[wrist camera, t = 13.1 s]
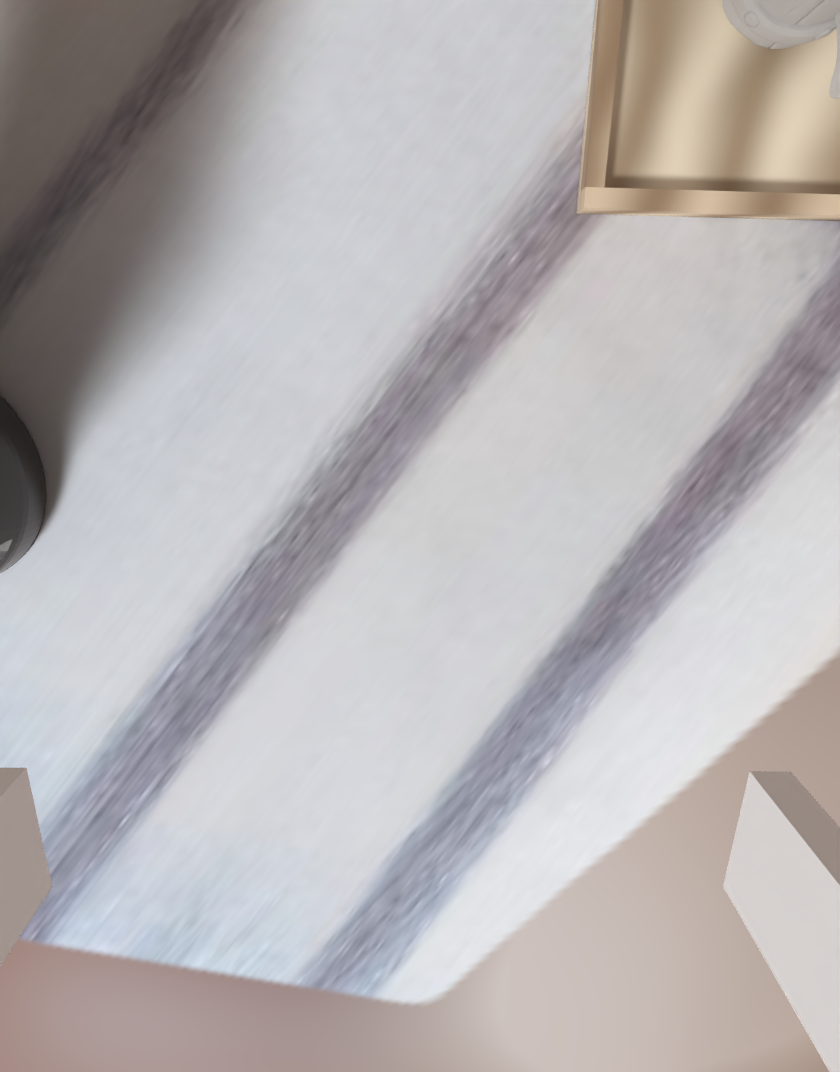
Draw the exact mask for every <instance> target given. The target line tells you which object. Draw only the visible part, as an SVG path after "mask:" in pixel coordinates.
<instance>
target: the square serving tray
mask: <svg viewBox="0 0 840 1072" xmlns="http://www.w3.org/2000/svg"><path fill="white" fill-rule="evenodd" d="M837 45H838V42H837V28H836V29H835V30H833V32H831V33H830V34H829V35H827V36H825V37H823V38H821V39H817V40H814V41H811V42H808V43H804V44H799V45H796V46H793V47H789V48H785V49H770V47H769V48H765V47H762V46H758V45H756V44H754V43H753V42H751V41H750V40H748V39H747V38H746V37H745V36H743V35H742V34H741V33H740V32H739V31H738V30H737V29H736V28H735V27H734V26H733V25H732V24H731V23H730V21H729V19H728V18H727V16H726V14H725V12H724V9H723V0H596V4H595V15H594V26H593V37H592V48H591V59H590V70H589V81H588V91H587V102H586V113H585V124H584V135H583V146H582V157H581V168H580V179H579V190H578V201H577V212H576V213H578V214H613V215H648V216H684V217H719V218H755V219H790V220H825V221H840V99H834V98H831V97H830V94H829V88H830V84H831V79H832V76H833V73H834V70H835V66H836V60H837Z"/></svg>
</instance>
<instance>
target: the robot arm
mask: <svg viewBox="0 0 840 1072" xmlns="http://www.w3.org/2000/svg"><path fill="white" fill-rule="evenodd" d="M45 497H46V491H45V480H44V474H43V469H42V465H41V461H40V458H39V455H38V453H37V450H36V447H35V445H34V443H33V441H32V439H31V437H30V435H29V433H28V431H27V429H26V428H25V426H24V425H23V423H22V421H21V420H20V419H19V417H18V416H17V414H16V413H15V412H14V411H13V409H12V408H11V407H10V406H9V405H8V403H7V402H6V401H5V400H4V399H3V398H2V397H1V396H0V573H2V572H4V571H5V570H7V569H8V568H10V567H11V566H12V565H14V564H15V563H16V562H17V561H18V560H19V559H20V558H21V557H22V556H23V555H24V554H25V553H26V552H27V550H28V549H29V548H30V546H31V545H32V543H33V542H34V540H35V538H36V536H37V534H38V531H39V529H40V526H41V523H42V520H43V515H44V510H45ZM723 887H724V889H725V891H726V892H727V894H728V896H729V897H730V899H731V901H732V902H733V905H734V906H735V908H736V910H737V912H738V913H739V915H740V917H741V918H742V920H743V922H744V923H745V925H746V927H747V929H748V931H749V932H750V934H751V936H752V937H753V939H754V941H755V943H756V945H757V946H758V948H759V950H760V951H761V953H762V955H763V956H764V958H765V960H766V962H767V964H768V965H769V967H770V969H771V971H772V972H773V974H774V976H775V978H776V979H777V981H778V983H779V985H780V986H781V988H782V990H783V992H784V993H785V995H786V997H787V998H788V1000H789V1002H790V1004H791V1005H792V1007H793V1009H794V1011H795V1012H796V1014H797V1016H798V1017H799V1019H800V1021H801V1023H802V1025H803V1026H804V1028H805V1030H806V1031H807V1033H808V1035H809V1037H810V1038H811V1040H812V1042H813V1044H814V1045H815V1047H816V1049H817V1051H818V1052H819V1054H820V1056H821V1058H822V1059H823V1061H824V1063H825V1065H826V1066H827V1068H828V1070H829V1071H830V1072H840V827H839V826H838V825H837V824H836V822H835V821H834V820H833V819H832V818H831V817H830V816H829V815H828V813H827V812H826V811H825V810H824V809H823V808H822V807H821V806H820V804H819V803H818V802H817V801H816V800H815V799H814V798H813V797H812V795H811V794H810V793H809V792H808V791H807V790H806V788H805V787H804V786H803V785H802V784H801V783H800V782H799V781H798V779H797V778H796V777H795V776H794V775H793V774H792V773H791V772H750V773H749V777H748V782H747V786H746V790H745V794H744V799H743V803H742V807H741V812H740V816H739V820H738V825H737V829H736V833H735V838H734V842H733V846H732V851H731V855H730V859H729V864H728V868H727V873H726V877H725V881H724V885H723ZM51 888H52V883H51V879H50V874H49V870H48V865H47V861H46V856H45V851H44V847H43V842H42V838H41V833H40V828H39V824H38V819H37V815H36V810H35V805H34V801H33V796H32V792H31V787H30V783H29V778H28V773H27V769H26V768H0V966H1V965H2V963H3V962H4V960H5V959H6V957H7V956H8V954H9V952H10V951H11V949H12V948H13V946H14V945H15V943H16V942H17V940H18V939H19V937H20V935H21V934H22V932H23V931H24V929H25V928H26V926H27V925H28V923H29V922H30V920H31V919H32V917H33V915H34V914H35V912H36V911H37V909H38V908H39V906H40V905H41V903H42V902H43V900H44V898H45V897H46V895H47V894H48V892H49V891H50V889H51Z"/></svg>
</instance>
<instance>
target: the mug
mask: <svg viewBox="0 0 840 1072" xmlns="http://www.w3.org/2000/svg"><path fill="white" fill-rule="evenodd" d="M723 9H724V12H725V14H726V16H727V18H728V19H729V21H730V23H731V24H732V25H733V26H734V27H735V28H736V29H737V30H738V31H739V32H740V33H741V34H742V35H743V36H745V37H746V38H747V39H748V40H750V41H751V42H753V43H754V44H756V45H758V46H762V47H765V48H769V47H770V49H785V48H789V47H793V46H796V45H799V44H804V43H808V42H811V41H814V40H817V39H821V38H823V37H825V36H827V35H829V34H830V33H831V32H833V30H835V29H836V28H837V42H838V45H837V60H836V66H835V70H834V73H833V76H832V79H831V84H830V88H829V94H830V97H831V98H834V99H840V0H723Z"/></svg>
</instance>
